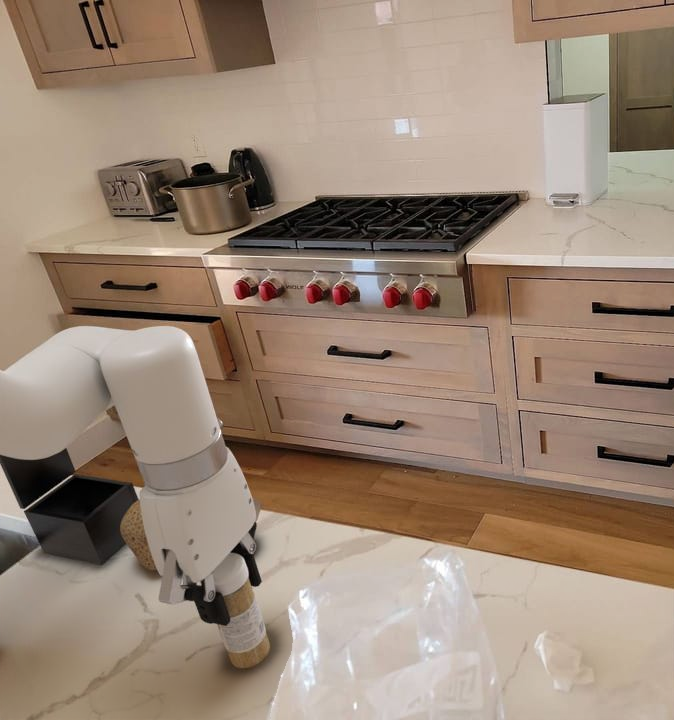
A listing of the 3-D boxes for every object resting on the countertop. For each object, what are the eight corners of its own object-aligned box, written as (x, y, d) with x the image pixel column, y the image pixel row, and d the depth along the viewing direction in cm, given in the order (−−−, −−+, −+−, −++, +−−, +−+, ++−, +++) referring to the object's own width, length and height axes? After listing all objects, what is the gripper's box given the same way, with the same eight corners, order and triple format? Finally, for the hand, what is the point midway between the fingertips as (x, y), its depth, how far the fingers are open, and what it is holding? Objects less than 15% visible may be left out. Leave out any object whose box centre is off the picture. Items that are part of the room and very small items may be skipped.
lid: (49, 404, 91) (22, 400, 93) (-8, 439, 84) (-37, 433, 85) (76, 471, 96) (49, 466, 98) (24, 509, 89) (-4, 503, 91)
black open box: (150, 529, 97) (132, 482, 93) (105, 571, 90) (83, 522, 86) (94, 519, 100) (75, 473, 96) (46, 558, 93) (23, 511, 89)
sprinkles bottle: (239, 642, 77) (207, 552, 71) (278, 640, 77) (250, 549, 71) (225, 677, 73) (190, 584, 67) (266, 675, 73) (235, 581, 67)
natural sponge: (200, 527, 96) (180, 469, 92) (216, 562, 89) (195, 501, 85) (132, 555, 92) (107, 496, 88) (143, 594, 85) (117, 532, 81)
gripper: (209, 407, 71) (251, 541, 79) (79, 510, 57) (146, 660, 65) (270, 414, 69) (306, 551, 77) (149, 522, 55) (210, 677, 63)
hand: (232, 600), depth 71 cm, fingers closed on sprinkles bottle, 4 cm apart
